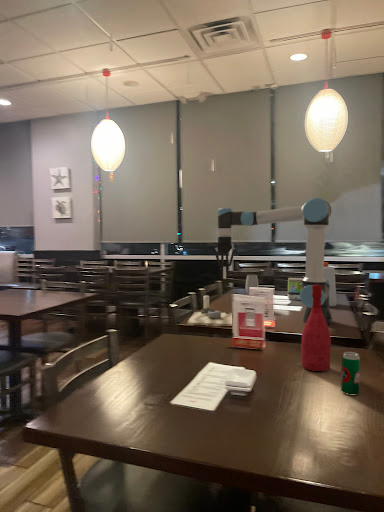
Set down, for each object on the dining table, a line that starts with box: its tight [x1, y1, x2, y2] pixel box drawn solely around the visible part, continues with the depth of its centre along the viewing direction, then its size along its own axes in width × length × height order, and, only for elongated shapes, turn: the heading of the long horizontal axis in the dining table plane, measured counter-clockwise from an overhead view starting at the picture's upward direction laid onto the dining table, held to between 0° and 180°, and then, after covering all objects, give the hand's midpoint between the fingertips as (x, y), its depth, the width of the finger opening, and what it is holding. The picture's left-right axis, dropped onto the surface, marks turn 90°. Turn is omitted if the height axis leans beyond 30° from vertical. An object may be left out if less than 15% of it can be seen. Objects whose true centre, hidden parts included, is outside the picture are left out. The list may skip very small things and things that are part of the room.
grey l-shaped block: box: [203, 295, 222, 319], centre depth 211 cm, size 14×7×10 cm, turn 28°
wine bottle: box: [301, 284, 332, 372], centre depth 135 cm, size 10×10×30 cm
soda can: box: [340, 351, 361, 395], centre depth 115 cm, size 5×5×12 cm
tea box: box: [287, 277, 304, 301], centre depth 273 cm, size 15×10×15 cm
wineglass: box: [245, 274, 260, 296], centre depth 239 cm, size 9×9×21 cm
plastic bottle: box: [323, 261, 337, 308], centre depth 250 cm, size 15×15×28 cm
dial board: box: [186, 310, 233, 327], centre depth 209 cm, size 26×26×3 cm
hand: (224, 278), depth 213 cm, fingers closed
